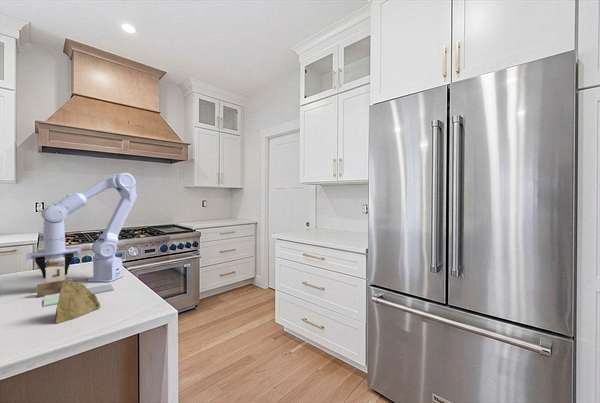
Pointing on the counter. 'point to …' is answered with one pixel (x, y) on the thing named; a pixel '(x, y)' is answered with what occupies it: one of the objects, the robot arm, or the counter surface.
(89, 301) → the rock
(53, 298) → the green mat
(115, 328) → the counter surface
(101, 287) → the grey mat
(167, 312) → the counter surface
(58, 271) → the lettered cube
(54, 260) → the supplement bottle
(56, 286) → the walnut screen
